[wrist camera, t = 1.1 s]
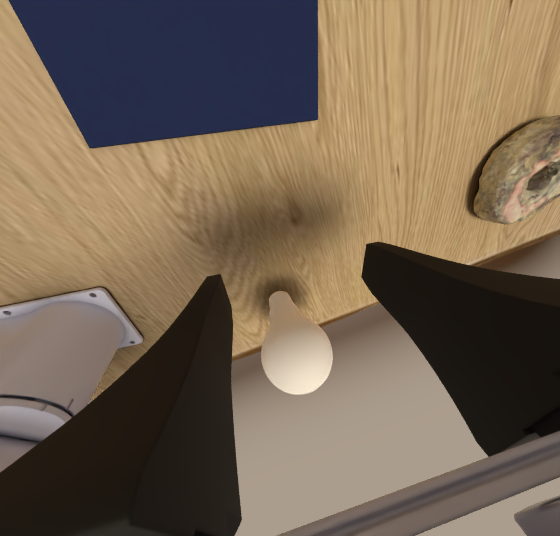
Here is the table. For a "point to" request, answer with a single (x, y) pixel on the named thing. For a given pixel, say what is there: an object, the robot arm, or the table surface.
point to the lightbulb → (294, 348)
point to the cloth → (177, 64)
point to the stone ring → (521, 174)
